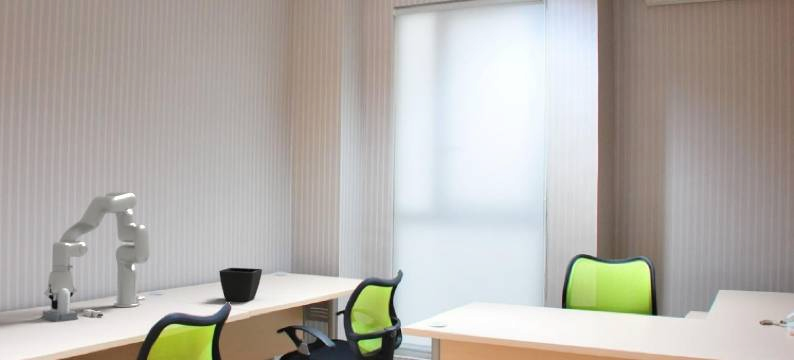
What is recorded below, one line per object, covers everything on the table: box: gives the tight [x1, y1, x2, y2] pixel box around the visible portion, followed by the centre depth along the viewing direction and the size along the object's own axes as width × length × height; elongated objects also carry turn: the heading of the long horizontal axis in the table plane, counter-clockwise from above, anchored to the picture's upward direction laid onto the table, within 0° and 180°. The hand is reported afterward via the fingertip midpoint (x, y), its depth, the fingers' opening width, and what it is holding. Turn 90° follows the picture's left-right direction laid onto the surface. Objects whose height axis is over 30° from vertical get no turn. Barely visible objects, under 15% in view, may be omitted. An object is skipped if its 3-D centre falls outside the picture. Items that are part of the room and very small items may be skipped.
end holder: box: [41, 309, 79, 323], centre depth 335 cm, size 10×15×3 cm, turn 51°
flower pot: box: [219, 267, 263, 303], centre depth 401 cm, size 19×19×17 cm
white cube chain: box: [83, 308, 104, 318], centre depth 344 cm, size 4×13×2 cm, turn 51°
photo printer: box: [50, 288, 71, 314], centre depth 336 cm, size 10×4×12 cm, turn 60°
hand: (60, 307), depth 336 cm, fingers closed on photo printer, 4 cm apart
